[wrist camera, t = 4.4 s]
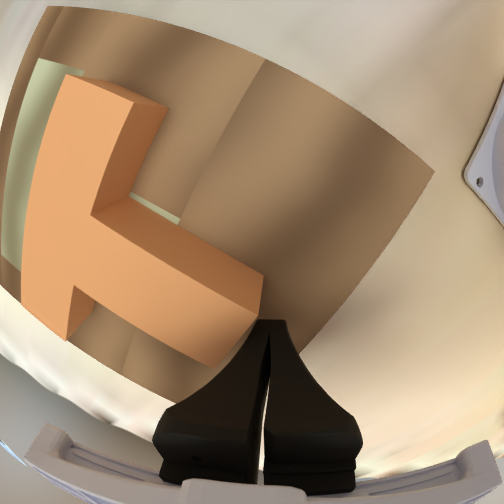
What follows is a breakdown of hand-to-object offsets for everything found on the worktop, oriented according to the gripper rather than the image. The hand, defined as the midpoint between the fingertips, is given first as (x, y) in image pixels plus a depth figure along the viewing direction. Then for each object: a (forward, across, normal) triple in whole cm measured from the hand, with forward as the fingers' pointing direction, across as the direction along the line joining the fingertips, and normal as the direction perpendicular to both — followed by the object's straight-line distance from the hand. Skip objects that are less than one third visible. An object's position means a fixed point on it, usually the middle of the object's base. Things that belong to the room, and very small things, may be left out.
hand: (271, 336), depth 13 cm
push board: (+2, +7, -5) cm, 9 cm away
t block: (+1, +6, -4) cm, 7 cm away
